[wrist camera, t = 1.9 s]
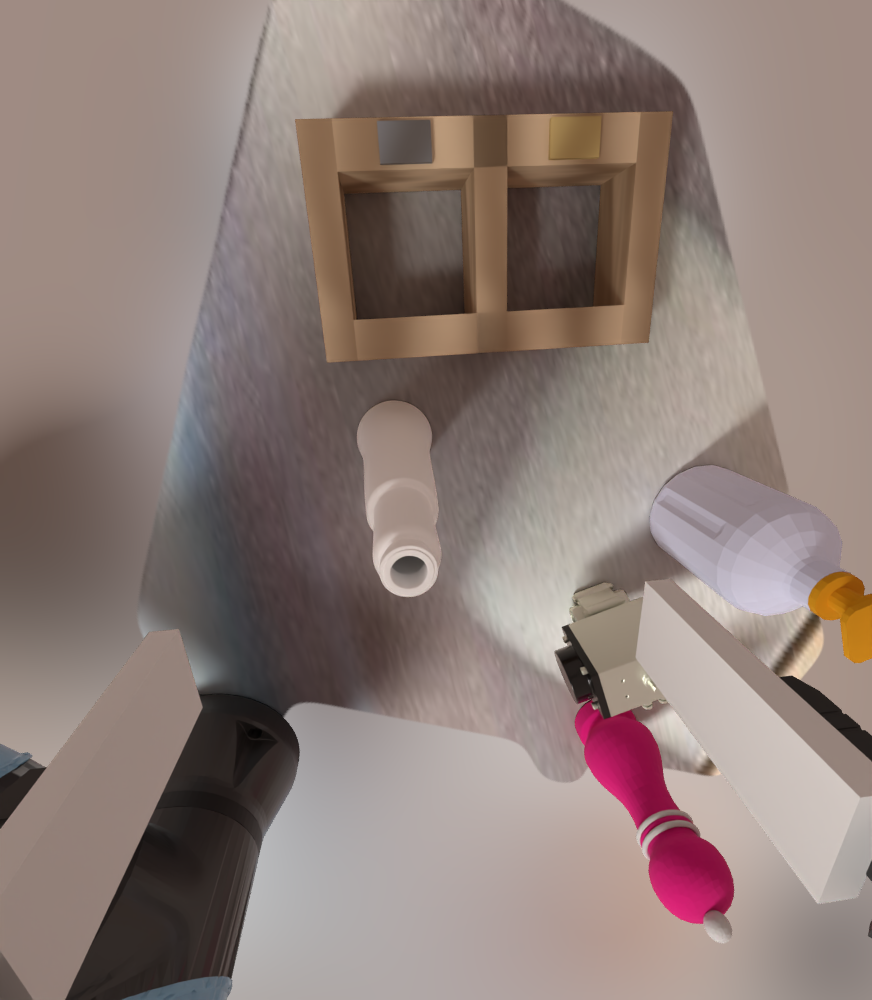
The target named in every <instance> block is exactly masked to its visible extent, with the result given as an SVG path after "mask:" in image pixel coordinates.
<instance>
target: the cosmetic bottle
mask: <svg viewBox="0 0 872 1000" xmlns="http://www.w3.org/2000/svg"><path fill="white" fill-rule="evenodd" d="M357 444H358V448H359V451H360V453H361V455H362V457H363V462H364V492H365V507H366V517H367V521H368V524H369V526H370V528H371V529H372V531H373V532H374V534H373V563H374V566H375V569H376V571H377V572H378V574H379V575H380V579H381V582H382V583H383V585H384V586H385V588H386V589H387V590H389V591H390V592H391V593H393V594H395V595H398V596H402V597H413V596H418V595H420V594H423V593H424V592H426V591H427V590H429V589H430V588H431V587H432V586H433V584H434V583H435V581H436V579H437V576H438V568H439V566H440V562H441V555H442V553H441V546H440V543H439V539H438V535H437V531H436V527H435V524H436V522H437V519H438V513H439V508H438V499H437V492H436V486H435V480H434V475H433V470H432V465H431V459H430V448H431V444H432V431H431V427H430V424H429V422H428V420H427V418H426V417H425V415H424V414H423V413H422V412H421V411H420V410H419V409H418V408H416V407H415V406H413V405H411V404H409V403H407V402H403V401H395V400H393V401H385V402H382V403H379V404H377V405H375V406H374V407H372V408H371V409H370V410H368V411H367V413H366V414H365V415H364V416H363V418H362V419H361V421H360V424H359V426H358V430H357Z"/></svg>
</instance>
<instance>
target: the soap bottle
mask: <svg viewBox="0 0 872 1000" xmlns="http://www.w3.org/2000/svg"><path fill="white" fill-rule="evenodd" d="M650 529H651V534H652V535H653V537H654V539H655V541H656V543H657V545H658V546H659V547H661V548H662V549H663V550H664V551H666V552H667V553H668V554H669V555H670V556H672V557H673V558H674V559H675V560H677V561H678V562H679V563H680V564H682V565H683V566H684V567H685V568H687V569H688V570H689V571H690V572H691V573H693V574H694V575H695V576H696V577H698V578H699V579H700V580H701V581H703V582H704V583H705V584H706V585H708V586H709V587H710V588H711V589H712V590H714V591H715V592H716V593H717V594H719V595H720V596H721V597H722V598H724V599H725V600H726V601H728V602H729V603H730V604H732V605H733V606H734V607H736V608H737V609H740V610H743V611H747V612H750V613H755V614H759V615H764V616H769V615H777V614H784V613H787V612H790V611H793V610H796V609H798V608H800V607H803V606H804V607H805V608H806V609H808V610H809V611H811V612H812V613H814V614H815V615H818V616H819V617H821V618H822V619H824V620H836V619H840V618H841V619H840V623H841V632H842V641H843V650H844V656H846V657H847V658H848V659H850V660H851V661H852V662H854V663H862V662H864V661H866V660H869V659H871V658H872V594H868V595H865V596H864V590H865V588H864V585H863V582H862V581H861V580H860V579H858V578H857V577H855V576H854V575H852V574H851V573H849V572H847V571H845V570H843V569H841V568H840V560H841V550H842V540H841V537H840V534H839V531H838V529H837V527H836V526H835V524H834V523H833V522H832V521H831V520H830V519H829V518H828V517H827V516H826V515H825V514H824V513H823V512H822V511H820V510H819V509H818V508H817V507H815V506H813V505H811V504H808V503H806V502H803V501H801V500H799V499H797V498H794V497H792V496H790V495H787V494H785V493H783V492H780V491H778V490H776V489H773V488H771V487H768V486H766V485H764V484H761V483H759V482H757V481H754V480H752V479H750V478H747V477H745V476H743V475H740V474H738V473H736V472H733V471H731V470H728V469H725V468H722V467H718V466H715V465H707V466H697V467H693V468H690V469H688V470H686V471H684V472H681V473H679V474H677V475H676V476H675V477H674V478H673V479H671V480H670V481H669V482H668V483H667V484H665V485H664V486H663V488H662V489H661V491H660V492H659V494H658V495H657V497H656V498H655V500H654V502H653V506H652V509H651V513H650Z"/></svg>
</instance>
